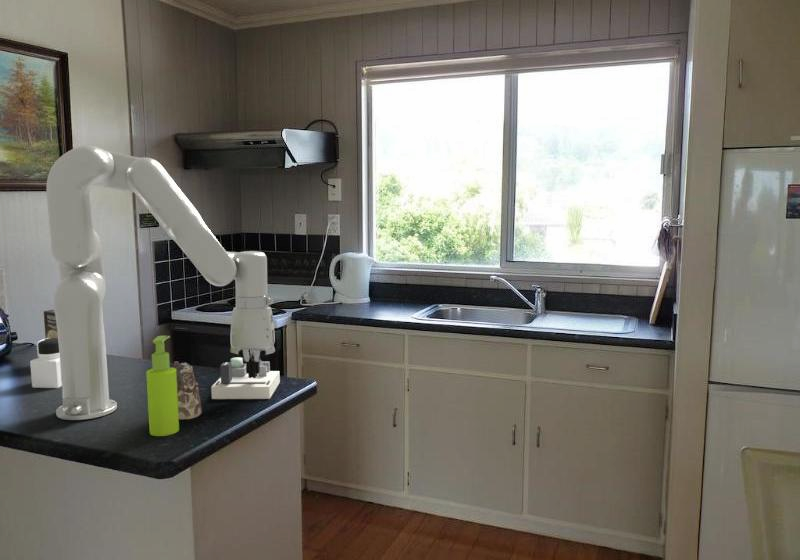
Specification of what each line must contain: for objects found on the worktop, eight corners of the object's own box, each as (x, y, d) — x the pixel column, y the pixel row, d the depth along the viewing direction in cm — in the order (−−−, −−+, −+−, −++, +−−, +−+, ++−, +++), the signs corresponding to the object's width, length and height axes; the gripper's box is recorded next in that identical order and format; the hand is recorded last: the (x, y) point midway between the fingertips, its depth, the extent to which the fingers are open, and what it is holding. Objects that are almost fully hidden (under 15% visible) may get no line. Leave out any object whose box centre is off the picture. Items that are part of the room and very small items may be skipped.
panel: (269, 398, 162) (268, 376, 162) (211, 399, 162) (210, 376, 162) (279, 382, 176) (279, 361, 175) (226, 382, 176) (225, 361, 175)
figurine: (179, 422, 146) (176, 368, 145) (162, 415, 151) (159, 363, 149) (207, 413, 152) (205, 362, 150) (190, 407, 156) (187, 357, 155)
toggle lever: (267, 371, 172) (249, 342, 171) (261, 375, 172) (243, 346, 171) (270, 368, 175) (252, 340, 174) (263, 372, 175) (245, 343, 174)
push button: (241, 369, 172) (241, 360, 171) (229, 369, 172) (229, 360, 171) (244, 366, 175) (243, 357, 174) (232, 366, 175) (232, 357, 174)
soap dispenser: (184, 424, 145) (179, 333, 142) (174, 436, 138) (169, 341, 135) (156, 424, 145) (151, 333, 142) (145, 436, 138) (140, 341, 135)
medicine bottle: (74, 380, 178) (70, 336, 177) (57, 388, 171) (54, 342, 170) (48, 380, 179) (45, 336, 177) (31, 387, 172) (27, 342, 170)
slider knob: (229, 383, 163) (228, 364, 163) (221, 383, 163) (220, 364, 163) (232, 379, 166) (231, 362, 166) (224, 379, 166) (223, 362, 166)
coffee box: (46, 365, 194) (41, 310, 192) (67, 360, 199) (63, 307, 197) (64, 370, 189) (60, 313, 187) (85, 364, 194) (82, 310, 192)
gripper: (285, 300, 166) (286, 372, 168) (224, 299, 166) (226, 372, 168) (279, 305, 158) (280, 381, 161) (216, 304, 158) (218, 380, 161)
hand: (253, 376), depth 165 cm, fingers closed
